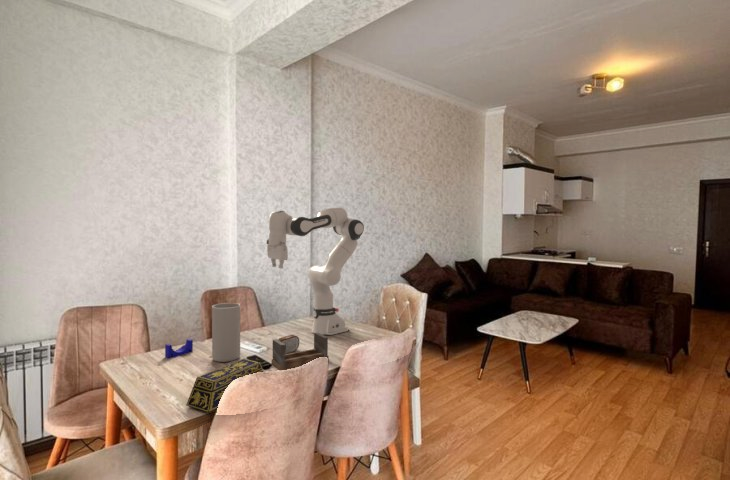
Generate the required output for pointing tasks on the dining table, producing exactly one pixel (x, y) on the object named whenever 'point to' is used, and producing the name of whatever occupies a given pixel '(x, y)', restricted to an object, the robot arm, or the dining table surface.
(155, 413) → the dining table surface
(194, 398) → the decorative box
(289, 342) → the tin
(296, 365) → the holder
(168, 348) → the cable clip
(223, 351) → the cylinder vase
